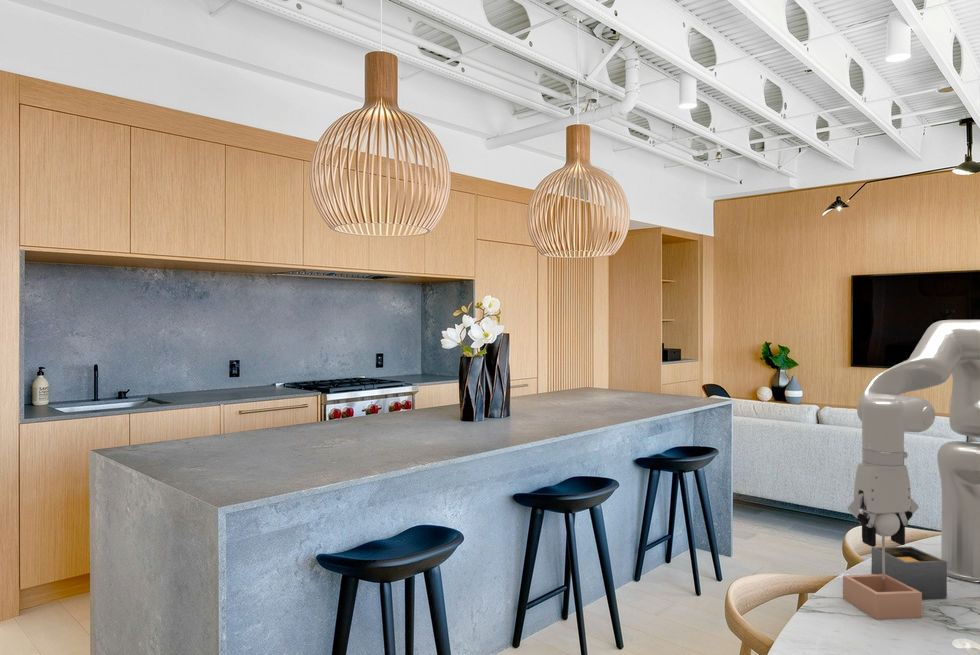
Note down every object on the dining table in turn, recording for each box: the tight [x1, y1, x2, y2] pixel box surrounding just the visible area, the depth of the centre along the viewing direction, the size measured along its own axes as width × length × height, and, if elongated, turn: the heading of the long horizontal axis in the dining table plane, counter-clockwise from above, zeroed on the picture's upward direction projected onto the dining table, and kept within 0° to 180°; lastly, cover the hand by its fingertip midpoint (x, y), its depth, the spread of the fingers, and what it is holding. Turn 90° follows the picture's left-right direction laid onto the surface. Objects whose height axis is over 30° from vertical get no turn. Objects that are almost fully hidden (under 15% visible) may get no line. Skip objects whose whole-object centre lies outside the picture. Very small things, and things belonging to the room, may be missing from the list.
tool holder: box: [842, 574, 923, 620], centre depth 133 cm, size 10×10×5 cm
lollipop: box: [867, 513, 900, 580], centre depth 134 cm, size 6×6×15 cm
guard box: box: [870, 546, 948, 601], centre depth 143 cm, size 10×10×8 cm
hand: (883, 542), depth 134 cm, fingers closed on lollipop, 5 cm apart
